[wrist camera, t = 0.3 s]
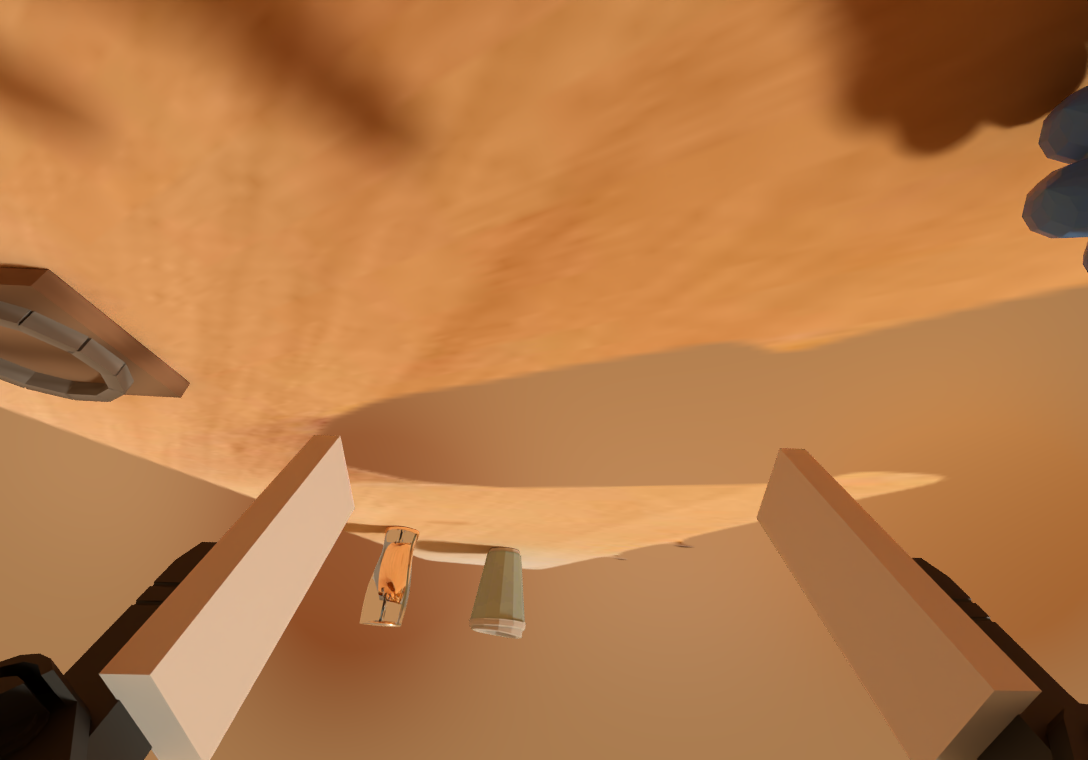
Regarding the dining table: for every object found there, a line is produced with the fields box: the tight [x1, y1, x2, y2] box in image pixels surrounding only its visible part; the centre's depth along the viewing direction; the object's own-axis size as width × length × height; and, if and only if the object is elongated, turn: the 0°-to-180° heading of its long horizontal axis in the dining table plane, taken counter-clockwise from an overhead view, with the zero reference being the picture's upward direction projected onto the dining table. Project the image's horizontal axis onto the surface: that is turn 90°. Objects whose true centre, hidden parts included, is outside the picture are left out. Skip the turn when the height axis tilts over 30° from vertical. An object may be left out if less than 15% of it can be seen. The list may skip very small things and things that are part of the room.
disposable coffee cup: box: [469, 547, 525, 638], centre depth 81 cm, size 11×11×15 cm
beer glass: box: [360, 526, 420, 627], centre depth 73 cm, size 7×7×15 cm
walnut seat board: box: [0, 267, 190, 402], centre depth 31 cm, size 13×13×3 cm
